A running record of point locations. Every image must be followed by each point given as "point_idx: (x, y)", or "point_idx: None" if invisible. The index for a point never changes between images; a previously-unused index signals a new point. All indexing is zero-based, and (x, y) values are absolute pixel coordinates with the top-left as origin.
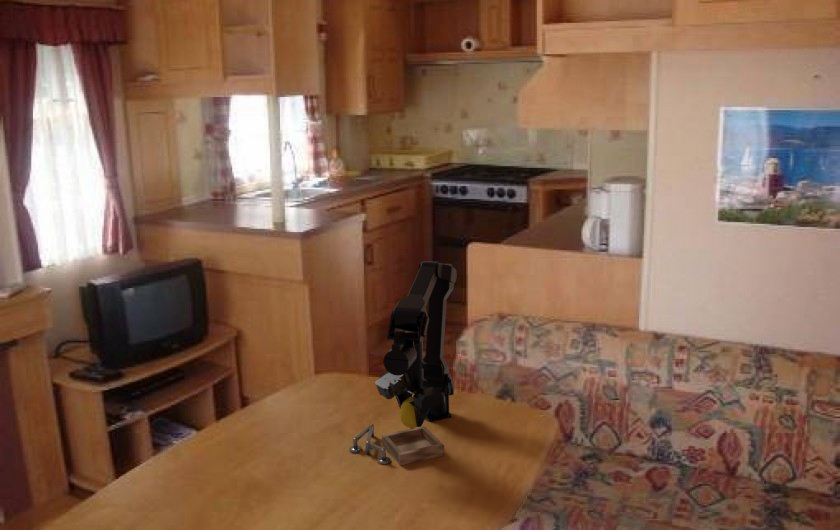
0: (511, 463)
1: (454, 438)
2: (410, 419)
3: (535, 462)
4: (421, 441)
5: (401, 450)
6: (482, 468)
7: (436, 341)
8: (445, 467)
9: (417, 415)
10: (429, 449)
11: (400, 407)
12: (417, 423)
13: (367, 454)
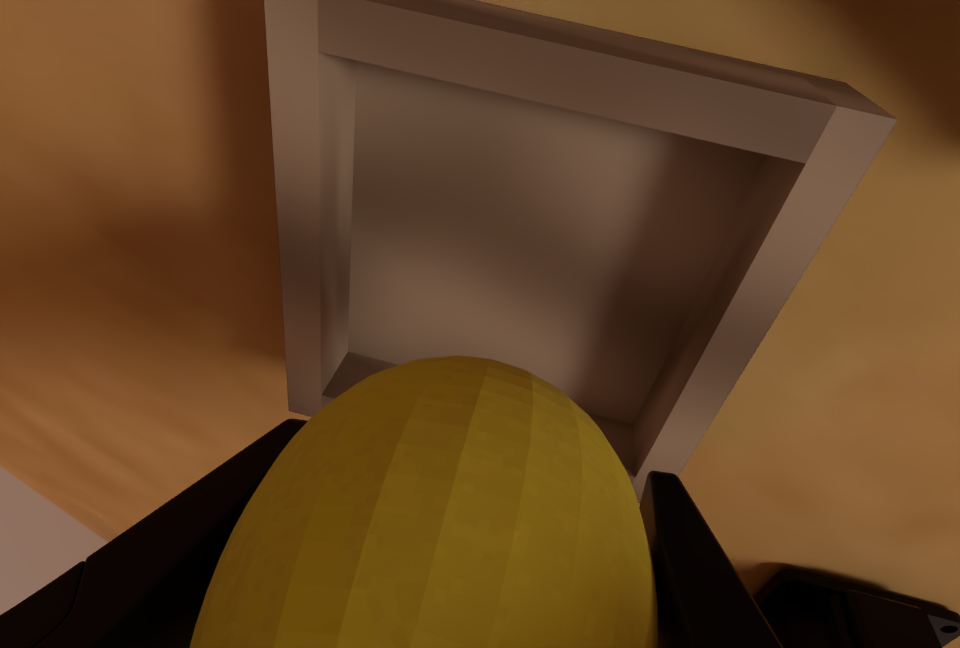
0: (120, 492)
1: None
2: (278, 460)
3: (106, 540)
4: (564, 372)
5: (542, 155)
6: (101, 392)
7: None
8: (166, 261)
9: (59, 577)
10: (288, 304)
11: (720, 636)
12: (237, 454)
13: None
